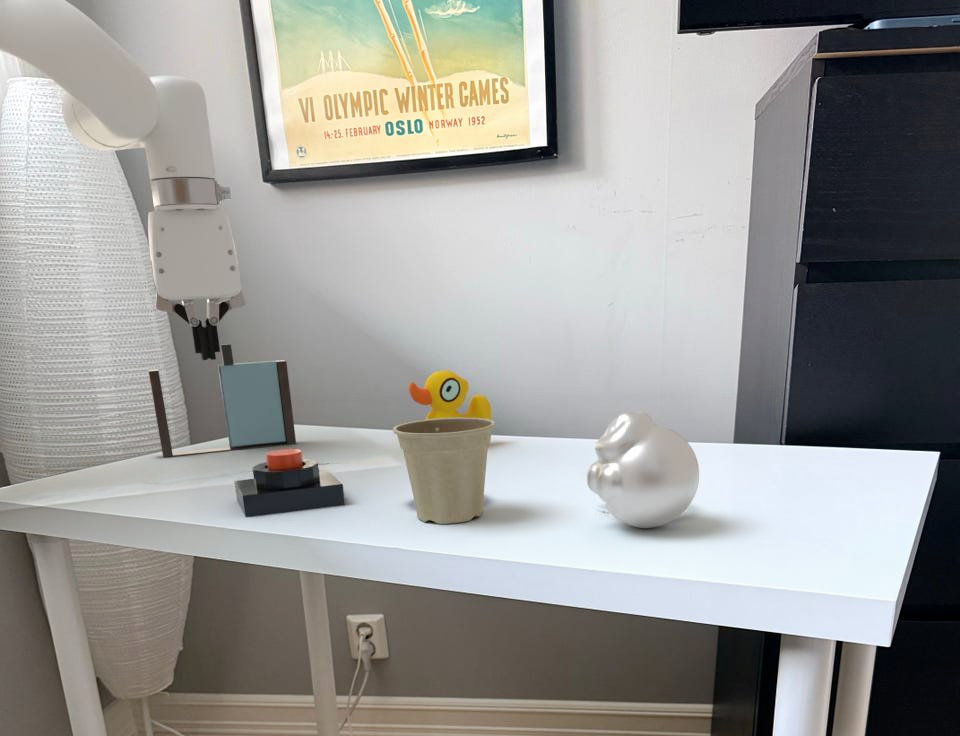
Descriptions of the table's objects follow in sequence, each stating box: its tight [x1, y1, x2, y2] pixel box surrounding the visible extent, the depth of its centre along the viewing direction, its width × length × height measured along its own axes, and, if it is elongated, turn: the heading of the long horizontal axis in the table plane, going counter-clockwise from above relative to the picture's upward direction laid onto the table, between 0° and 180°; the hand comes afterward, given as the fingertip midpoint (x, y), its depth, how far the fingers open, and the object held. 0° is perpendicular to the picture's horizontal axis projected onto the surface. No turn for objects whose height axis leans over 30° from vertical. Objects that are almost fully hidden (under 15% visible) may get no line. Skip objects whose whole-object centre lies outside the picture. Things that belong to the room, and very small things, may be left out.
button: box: [265, 448, 303, 469], centre depth 95 cm, size 4×4×2 cm
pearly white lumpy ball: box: [586, 411, 700, 529], centre depth 80 cm, size 9×10×10 cm
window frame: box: [148, 359, 297, 459], centre depth 120 cm, size 17×2×12 cm, turn 110°
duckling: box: [408, 369, 492, 420], centre depth 121 cm, size 11×5×10 cm, turn 119°
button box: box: [233, 458, 346, 518], centre depth 96 cm, size 10×8×4 cm
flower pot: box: [392, 418, 496, 525], centre depth 87 cm, size 9×9×9 cm
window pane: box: [219, 343, 286, 447], centre depth 120 cm, size 7×1×13 cm, turn 110°
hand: (208, 358), depth 117 cm, fingers closed
